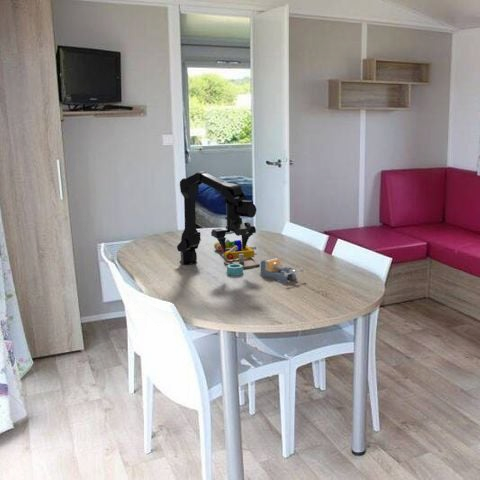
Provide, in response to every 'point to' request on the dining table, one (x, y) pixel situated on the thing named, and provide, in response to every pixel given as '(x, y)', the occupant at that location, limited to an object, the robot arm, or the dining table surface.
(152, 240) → the dining table surface
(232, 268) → the ring
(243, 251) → the yellow jointed frame
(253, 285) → the dining table surface
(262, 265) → the vise
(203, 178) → the robot arm
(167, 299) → the dining table surface
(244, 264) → the post stand
